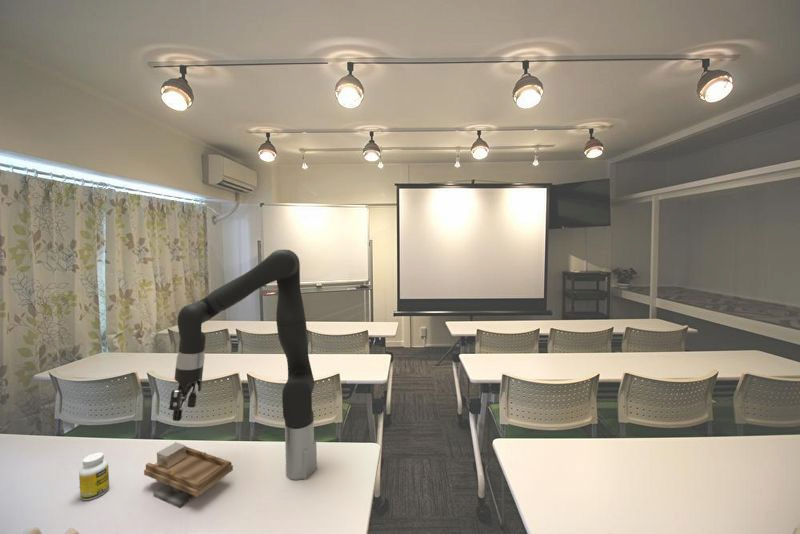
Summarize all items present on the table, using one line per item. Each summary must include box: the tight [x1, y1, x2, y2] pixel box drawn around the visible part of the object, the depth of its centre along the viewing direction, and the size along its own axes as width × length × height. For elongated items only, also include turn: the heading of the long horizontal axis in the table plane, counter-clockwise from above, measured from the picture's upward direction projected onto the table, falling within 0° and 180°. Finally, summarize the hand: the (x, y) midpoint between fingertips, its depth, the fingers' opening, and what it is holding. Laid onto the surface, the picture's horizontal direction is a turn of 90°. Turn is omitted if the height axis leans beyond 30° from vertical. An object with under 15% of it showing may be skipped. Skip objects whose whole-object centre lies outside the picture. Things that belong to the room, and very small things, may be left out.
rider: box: [156, 441, 187, 469], centre depth 105 cm, size 5×6×4 cm
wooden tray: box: [143, 446, 234, 509], centre depth 102 cm, size 24×14×8 cm, turn 68°
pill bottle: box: [78, 452, 110, 501], centre depth 99 cm, size 6×6×12 cm
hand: (184, 413), depth 104 cm, fingers open, 8 cm apart
